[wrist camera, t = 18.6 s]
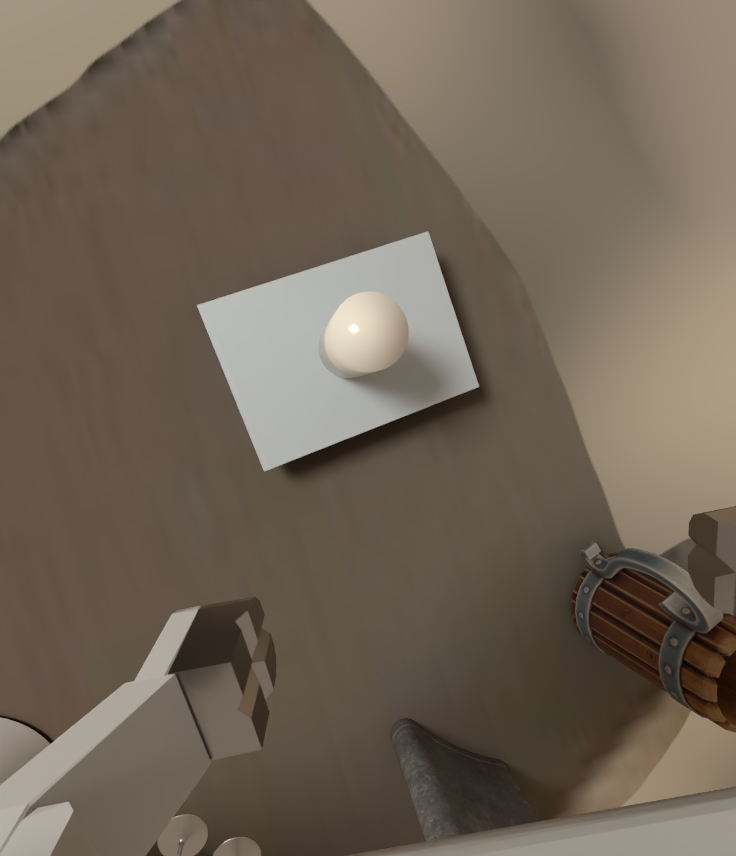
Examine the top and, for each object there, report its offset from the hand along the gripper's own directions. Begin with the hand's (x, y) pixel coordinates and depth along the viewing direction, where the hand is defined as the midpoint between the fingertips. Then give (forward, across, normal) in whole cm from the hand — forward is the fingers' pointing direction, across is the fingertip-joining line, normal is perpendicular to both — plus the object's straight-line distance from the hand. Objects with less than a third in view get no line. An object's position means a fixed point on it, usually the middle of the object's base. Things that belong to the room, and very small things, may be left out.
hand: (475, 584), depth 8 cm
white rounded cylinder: (+30, +2, -1) cm, 30 cm away
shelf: (+34, +3, 0) cm, 34 cm away
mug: (+33, -19, +29) cm, 48 cm away
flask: (+26, +1, +41) cm, 49 cm away
